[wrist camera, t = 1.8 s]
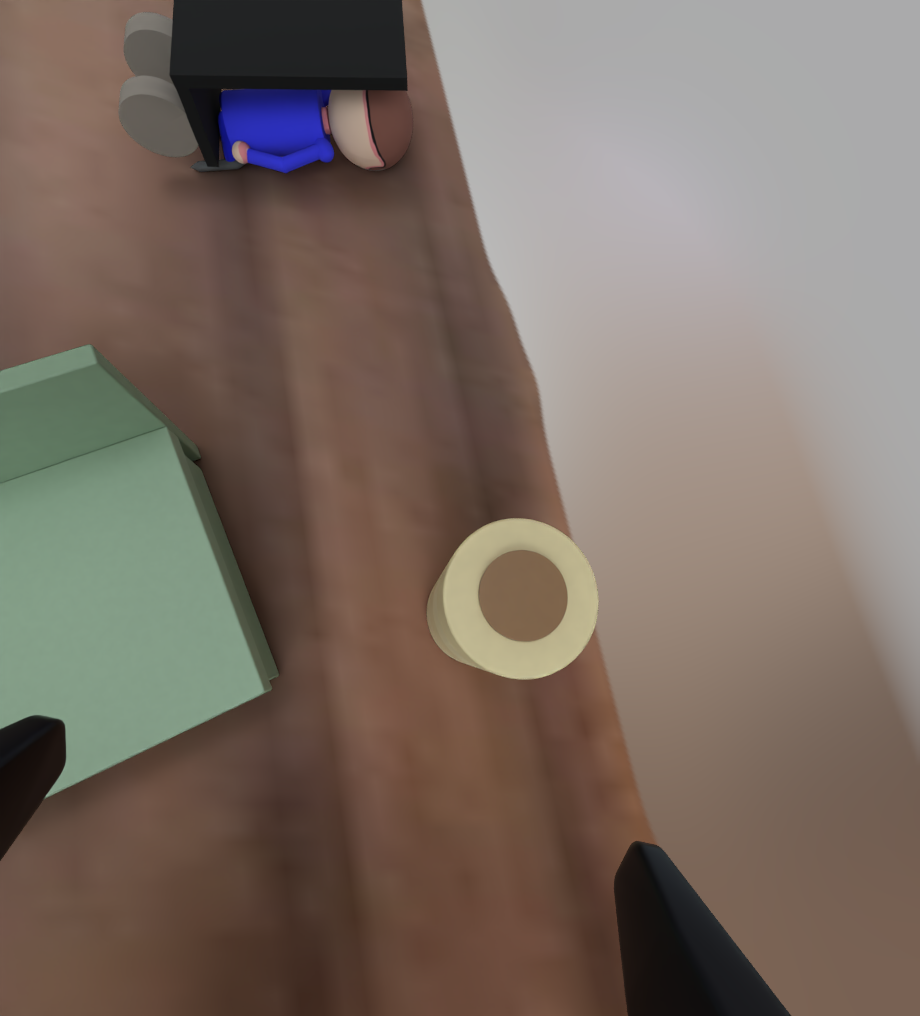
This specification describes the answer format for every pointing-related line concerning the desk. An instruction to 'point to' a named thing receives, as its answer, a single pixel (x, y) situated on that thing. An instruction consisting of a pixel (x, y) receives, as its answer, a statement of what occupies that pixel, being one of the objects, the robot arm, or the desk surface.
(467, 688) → the desk surface
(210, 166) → the figurine character
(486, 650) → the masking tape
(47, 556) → the shelf
